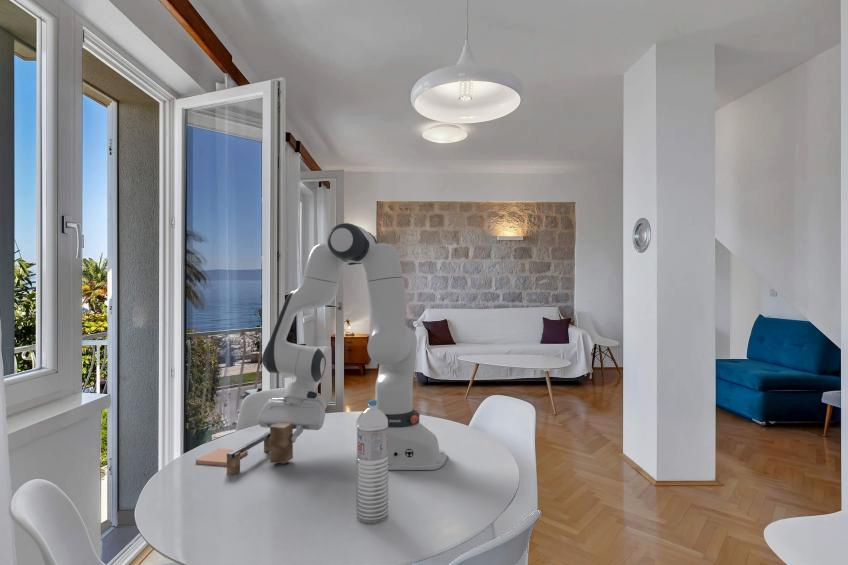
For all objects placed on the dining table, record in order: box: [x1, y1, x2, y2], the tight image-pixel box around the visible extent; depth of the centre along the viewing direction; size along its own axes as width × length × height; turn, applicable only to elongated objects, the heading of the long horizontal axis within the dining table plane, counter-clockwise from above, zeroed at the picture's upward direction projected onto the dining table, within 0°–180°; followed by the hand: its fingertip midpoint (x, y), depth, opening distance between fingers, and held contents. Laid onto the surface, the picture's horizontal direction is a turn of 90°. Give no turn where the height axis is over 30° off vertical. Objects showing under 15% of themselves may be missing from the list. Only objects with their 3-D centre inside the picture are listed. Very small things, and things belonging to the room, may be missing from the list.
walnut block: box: [269, 423, 294, 465], centre depth 128 cm, size 4×4×10 cm
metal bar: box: [228, 430, 270, 459], centre depth 130 cm, size 1×21×1 cm, turn 168°
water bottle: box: [356, 399, 389, 525], centre depth 97 cm, size 7×7×25 cm
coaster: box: [195, 448, 248, 467], centre depth 132 cm, size 10×10×1 cm
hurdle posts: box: [226, 431, 270, 476], centre depth 130 cm, size 3×20×5 cm, turn 168°
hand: (281, 440), depth 128 cm, fingers closed on walnut block, 4 cm apart
